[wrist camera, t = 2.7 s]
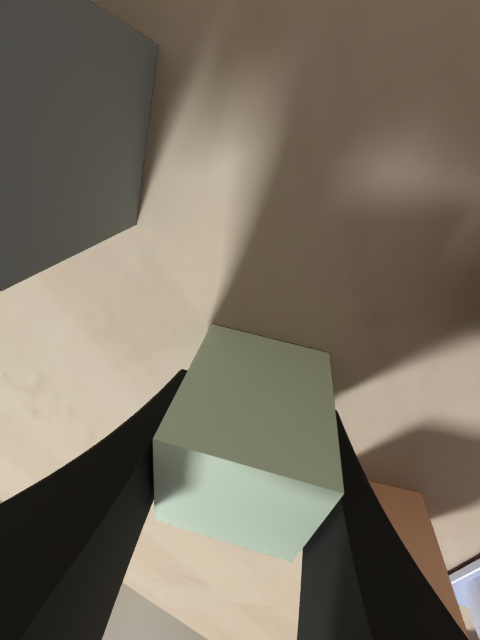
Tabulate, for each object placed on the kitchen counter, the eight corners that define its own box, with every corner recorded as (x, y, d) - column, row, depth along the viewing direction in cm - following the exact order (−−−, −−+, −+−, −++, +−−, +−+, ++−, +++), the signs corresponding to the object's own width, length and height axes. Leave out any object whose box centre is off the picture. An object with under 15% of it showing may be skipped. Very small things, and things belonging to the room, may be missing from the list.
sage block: (329, 353, 10) (344, 493, 6) (296, 427, 13) (291, 562, 9) (211, 323, 11) (152, 439, 7) (202, 401, 13) (154, 520, 9)
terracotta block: (421, 491, 14) (470, 643, 10) (387, 530, 16) (415, 664, 12) (327, 470, 14) (335, 604, 10) (309, 511, 17) (309, 632, 13)
